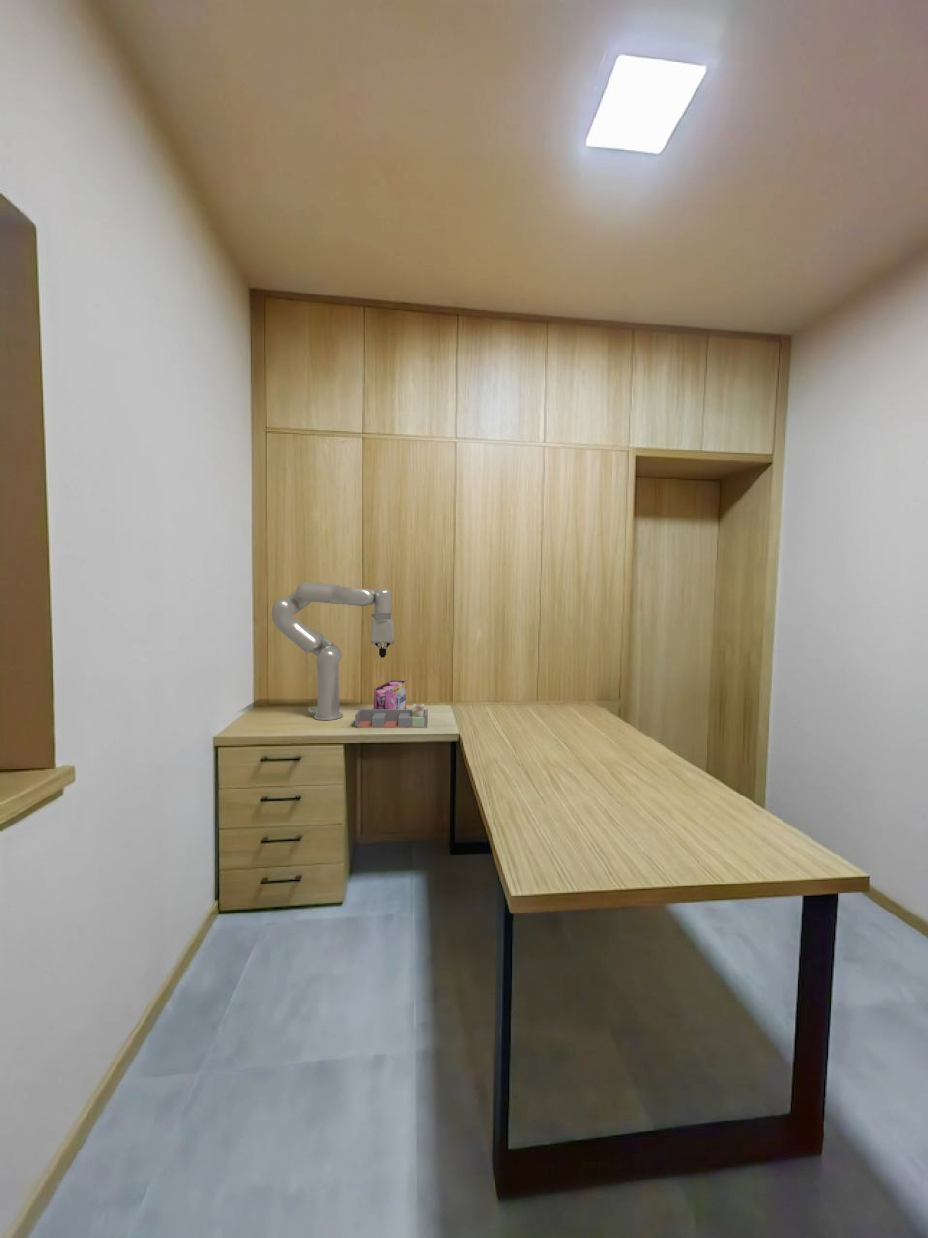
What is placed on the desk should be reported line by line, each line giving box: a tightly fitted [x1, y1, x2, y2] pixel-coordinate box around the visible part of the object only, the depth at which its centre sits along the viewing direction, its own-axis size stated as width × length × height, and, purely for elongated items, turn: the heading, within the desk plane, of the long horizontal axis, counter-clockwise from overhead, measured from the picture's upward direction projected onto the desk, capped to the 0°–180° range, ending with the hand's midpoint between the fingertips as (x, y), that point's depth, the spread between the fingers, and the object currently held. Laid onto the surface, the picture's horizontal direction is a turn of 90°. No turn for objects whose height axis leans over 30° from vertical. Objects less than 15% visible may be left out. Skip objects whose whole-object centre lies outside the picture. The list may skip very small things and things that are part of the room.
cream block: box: [412, 703, 425, 717], centre depth 210 cm, size 4×4×4 cm
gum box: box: [372, 680, 407, 709], centre depth 227 cm, size 24×8×14 cm, turn 167°
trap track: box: [354, 708, 429, 729], centre depth 210 cm, size 30×9×6 cm, turn 92°
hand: (382, 657), depth 222 cm, fingers closed
